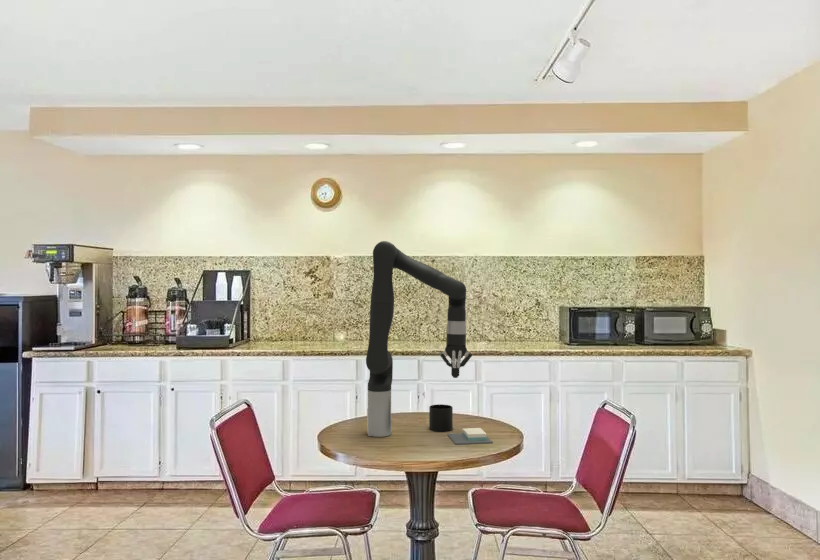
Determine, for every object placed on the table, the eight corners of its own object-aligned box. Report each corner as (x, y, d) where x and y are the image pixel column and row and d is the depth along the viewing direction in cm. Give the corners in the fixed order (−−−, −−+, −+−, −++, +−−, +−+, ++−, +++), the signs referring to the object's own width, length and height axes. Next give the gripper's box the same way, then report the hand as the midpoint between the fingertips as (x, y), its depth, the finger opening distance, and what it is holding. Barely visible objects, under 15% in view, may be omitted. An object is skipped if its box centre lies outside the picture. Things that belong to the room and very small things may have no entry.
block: (468, 434, 204) (486, 433, 205) (462, 428, 213) (480, 427, 214) (468, 441, 204) (486, 440, 205) (462, 434, 213) (480, 434, 214)
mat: (455, 444, 201) (455, 443, 201) (447, 435, 214) (447, 433, 214) (492, 443, 203) (492, 441, 203) (482, 433, 216) (482, 432, 216)
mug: (441, 424, 233) (441, 402, 233) (457, 430, 222) (457, 407, 222) (421, 426, 228) (421, 404, 228) (437, 433, 218) (437, 410, 218)
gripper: (441, 333, 209) (440, 379, 209) (475, 333, 211) (474, 379, 210) (437, 331, 216) (436, 376, 216) (470, 332, 218) (469, 376, 218)
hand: (455, 377), depth 213 cm, fingers closed
